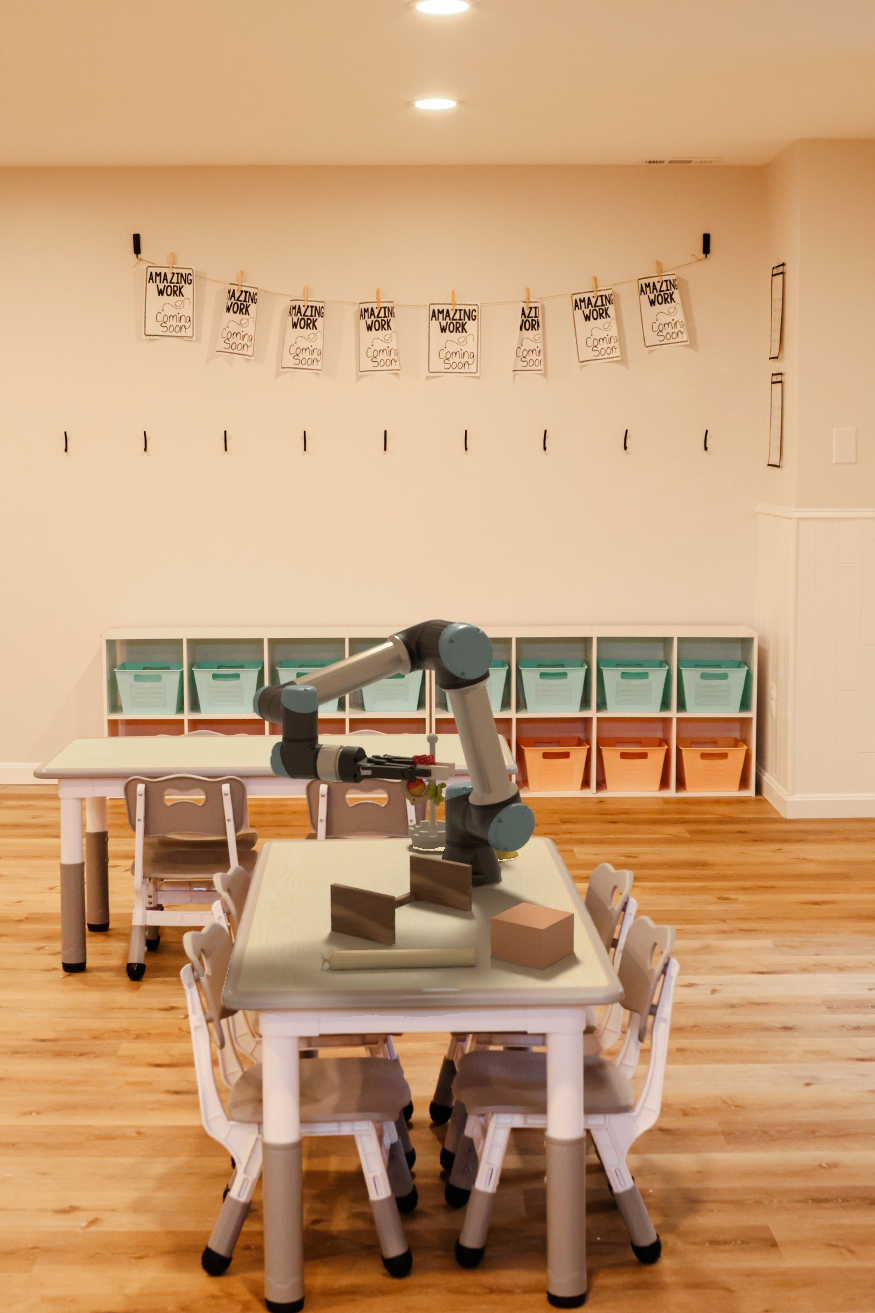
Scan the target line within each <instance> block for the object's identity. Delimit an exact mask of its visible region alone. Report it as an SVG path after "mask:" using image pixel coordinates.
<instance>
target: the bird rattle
mask: <svg viewBox="0 0 875 1313" xmlns="http://www.w3.org/2000/svg"><path fill="white" fill-rule="evenodd" d="M411 757H412V760H413V761H414V763H415V765H416V766H417V765H432V766H436V762H435V761H436V759H435V760H434V755H433V754H431V755H430V754H420V755H418V754H414V755H412V756H411ZM416 768H417V767H416ZM426 783H427V785H426ZM426 786H427V787H426ZM447 787H448V786H447V782H444V781H441V782H440V783H438V784H437V780H430V779H425V781H424V779H417V777H416V776H415V782H411V779H410V778H409V780H407V781H405V780H400V791H401V792H402V795H403V797H404V798H405V799H406V800H407V801H409V803H410V806H413V807H414V805H417V804H421V803H422V804H423V803H425V802H427V801H430V800H432V799H433V798H434V804H435V805H436V806H437V807H439V806H440V804H441V803H443V802H444V800H445V796H443V789H446V788H447Z"/></svg>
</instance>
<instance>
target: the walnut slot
mask: <svg viewBox="0 0 875 1313" xmlns="http://www.w3.org/2000/svg"><path fill="white" fill-rule="evenodd" d="M329 886H330V931H331V932H334V933H338V934H343V935H347V936H350V937H354V938H358V939H362V940H364V941H365V940H367V941H370V942H374V943H377V944H382V945H386V946H390V947H391V946H394V945H396V908H398V907H400V906H403V905H405V904H407V903H410V902H412V901H415V900H417V901H422V902H426V903H430V904H434V905H439V906H443V907H448V908H453V909H457V910H461V911H465V912H469V911H471V910H473V909H472V908H473V906H472V905H473V903H472V900H473V898H472V897H473V896H472V894H473V892H472V890H473V889H472V888H473V886H472V865H468V864H463V863H457V862H452V861H447V860H442V859H441V858H437V857H431V856H428V855H427V856H426V855H420V854H417V853H412V854H409V891H408V892H406V893H404V894H401V895H399V896H395V895H391V894H387V893H381V892H376V891H372V890H368V889H364V888H359V887H355V886H351V885H346V884H341V883H337V882H334V883H331V884H330V885H329Z"/></svg>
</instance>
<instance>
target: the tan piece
mask: <svg viewBox="0 0 875 1313" xmlns="http://www.w3.org/2000/svg"><path fill="white" fill-rule="evenodd" d="M320 953H321V955H320V956H321V958H320V959H321V960H322V961H321V966H320V967H321V968H320V969H323V967H324V965H325V964H326V963H327V964H328V965H329V967H330V968H331V969H332V970H333V969H338V970H339V971H340V969H344V970H375V969H374V968H386V969H414V968H415V969H422V968H454V967H455V968H464V967H466V968H467V967H476V962H477V961H476V959H477V958H476V957H477V955H476V948H475V947H452V948H450V947H449V948H443V947H442V948H407V949H405V948H403V949H402V948H401V949H400V948H398V949H397V948H396V949H353V950H351V949H348V950H344V949H343V950H332V951H331V953H330V954H329V956H328V957H326V958H325V956H324V955H323V954H322V952H320Z"/></svg>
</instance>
